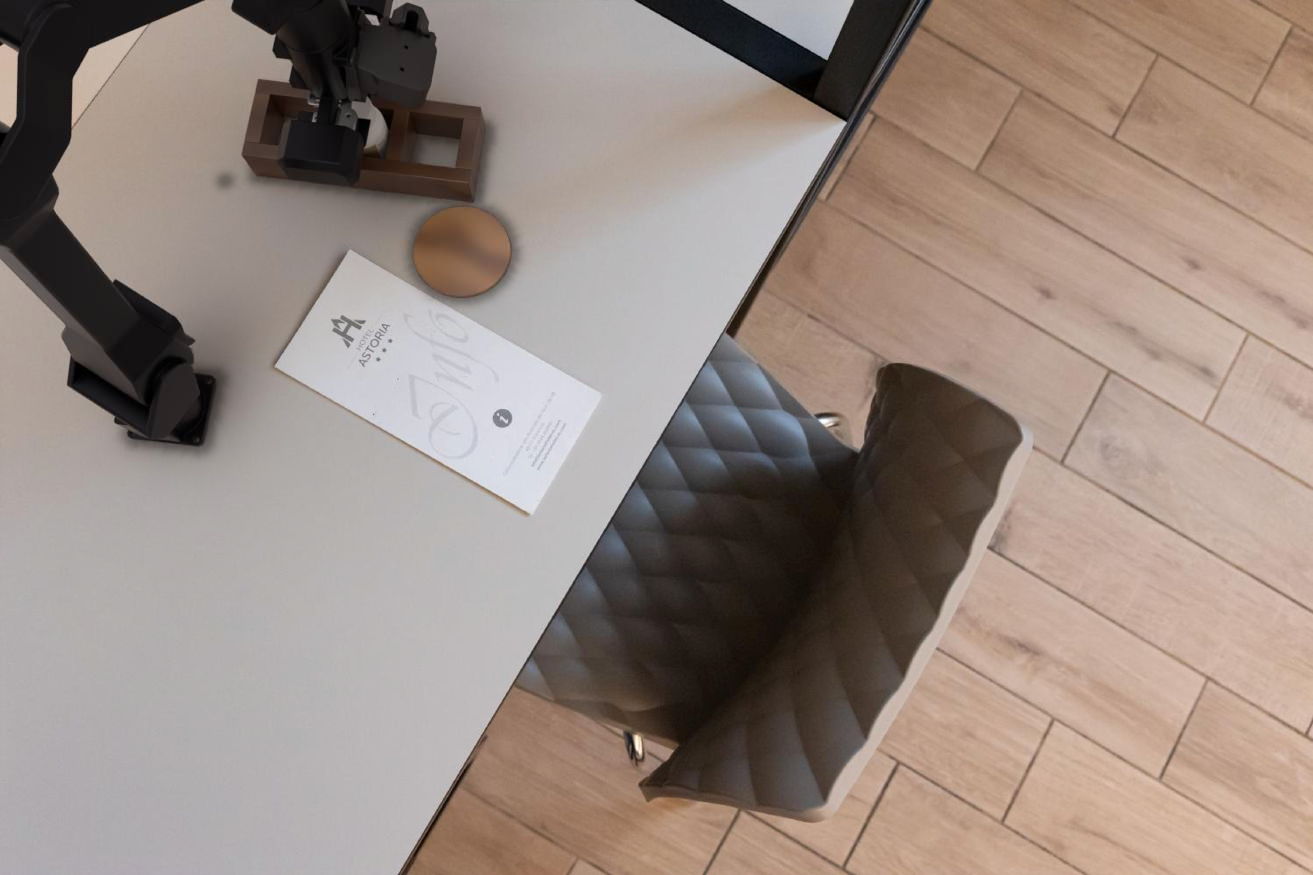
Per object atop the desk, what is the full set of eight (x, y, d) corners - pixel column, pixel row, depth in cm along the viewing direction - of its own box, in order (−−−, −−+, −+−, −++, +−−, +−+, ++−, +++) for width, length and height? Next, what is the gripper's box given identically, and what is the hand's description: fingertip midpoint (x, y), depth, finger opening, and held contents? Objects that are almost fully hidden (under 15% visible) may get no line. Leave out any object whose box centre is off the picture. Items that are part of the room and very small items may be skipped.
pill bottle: (342, 165, 93) (319, 122, 86) (358, 126, 94) (337, 79, 87) (386, 179, 93) (367, 137, 86) (402, 139, 94) (385, 94, 87)
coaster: (503, 303, 91) (503, 301, 91) (406, 291, 91) (406, 289, 91) (517, 214, 93) (516, 212, 93) (422, 202, 93) (421, 200, 93)
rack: (473, 203, 93) (468, 183, 89) (255, 176, 93) (240, 155, 89) (485, 129, 95) (480, 106, 91) (272, 102, 94) (257, 78, 90)
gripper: (398, 143, 72) (433, 233, 88) (437, -72, 76) (464, 49, 92) (246, 124, 72) (307, 217, 87) (294, -91, 76) (345, 33, 91)
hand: (360, 127), depth 89 cm, fingers closed on pill bottle, 4 cm apart
